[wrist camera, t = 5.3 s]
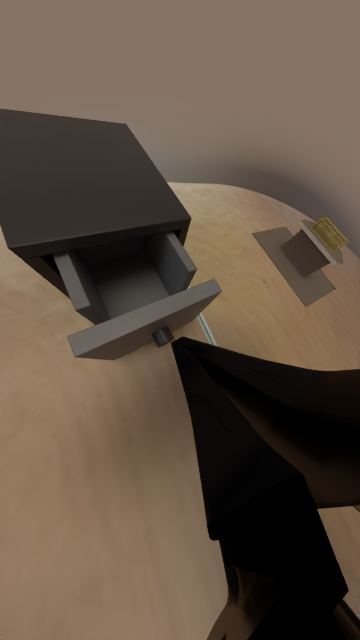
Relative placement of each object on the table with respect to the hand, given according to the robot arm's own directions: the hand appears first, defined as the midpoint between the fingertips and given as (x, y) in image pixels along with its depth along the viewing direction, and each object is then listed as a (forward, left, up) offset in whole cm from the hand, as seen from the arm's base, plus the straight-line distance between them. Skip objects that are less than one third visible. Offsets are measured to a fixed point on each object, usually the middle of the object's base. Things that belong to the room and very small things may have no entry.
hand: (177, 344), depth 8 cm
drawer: (+4, -6, -7) cm, 10 cm away
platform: (-27, -20, -8) cm, 34 cm away
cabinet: (+7, -12, -8) cm, 16 cm away
